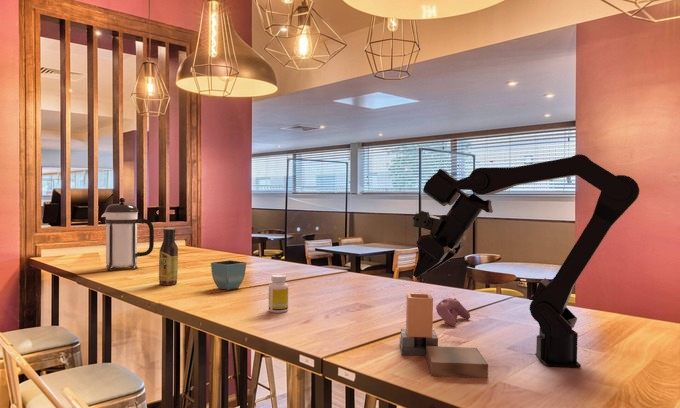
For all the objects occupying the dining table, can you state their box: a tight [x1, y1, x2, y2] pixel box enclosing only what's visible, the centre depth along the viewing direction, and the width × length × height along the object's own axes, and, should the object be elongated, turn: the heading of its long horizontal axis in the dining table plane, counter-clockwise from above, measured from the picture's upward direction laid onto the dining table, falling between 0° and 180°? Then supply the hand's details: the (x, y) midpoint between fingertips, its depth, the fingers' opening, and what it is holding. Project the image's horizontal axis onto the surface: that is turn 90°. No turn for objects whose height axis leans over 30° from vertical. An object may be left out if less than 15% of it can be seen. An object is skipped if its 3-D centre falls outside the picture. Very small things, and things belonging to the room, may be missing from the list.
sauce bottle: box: [158, 227, 179, 286], centre depth 165 cm, size 7×6×20 cm
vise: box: [399, 328, 439, 357], centre depth 99 cm, size 8×7×8 cm
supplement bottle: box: [268, 274, 289, 314], centre depth 130 cm, size 5×5×10 cm
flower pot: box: [210, 259, 247, 291], centre depth 160 cm, size 9×9×9 cm
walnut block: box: [425, 345, 489, 379], centre depth 89 cm, size 10×9×2 cm
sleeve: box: [405, 292, 434, 337], centre depth 98 cm, size 5×5×8 cm
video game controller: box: [435, 297, 471, 327], centre depth 122 cm, size 10×5×7 cm, turn 141°
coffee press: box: [101, 197, 155, 272], centre depth 198 cm, size 17×16×30 cm
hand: (421, 273), depth 107 cm, fingers open, 9 cm apart
